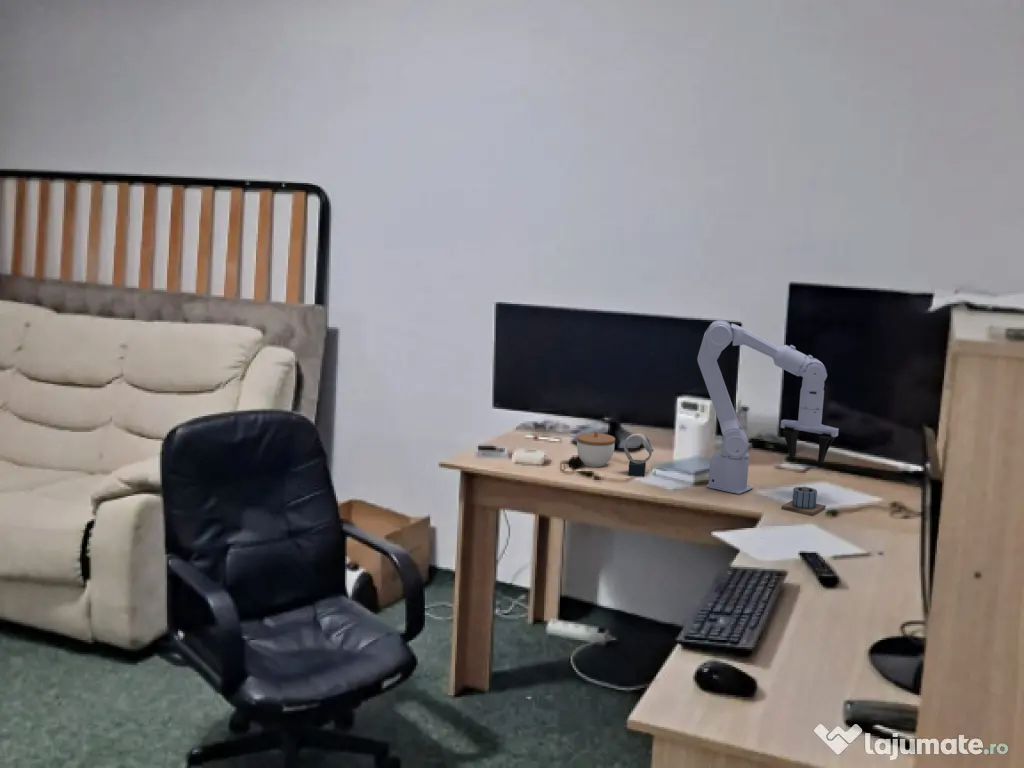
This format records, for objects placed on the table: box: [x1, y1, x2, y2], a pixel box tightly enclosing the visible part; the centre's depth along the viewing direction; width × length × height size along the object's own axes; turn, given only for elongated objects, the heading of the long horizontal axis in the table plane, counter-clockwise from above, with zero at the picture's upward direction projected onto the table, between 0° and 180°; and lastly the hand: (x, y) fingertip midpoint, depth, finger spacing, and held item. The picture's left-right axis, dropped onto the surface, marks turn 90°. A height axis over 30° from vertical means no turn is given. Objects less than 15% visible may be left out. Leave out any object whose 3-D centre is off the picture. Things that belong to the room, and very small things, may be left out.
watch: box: [623, 432, 654, 478], centre depth 278 cm, size 6×8×11 cm
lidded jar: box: [576, 430, 616, 468], centre depth 287 cm, size 11×11×9 cm
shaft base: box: [780, 488, 827, 517], centre depth 251 cm, size 8×8×5 cm
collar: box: [791, 486, 818, 509], centre depth 251 cm, size 6×6×4 cm
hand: (806, 459), depth 262 cm, fingers open, 7 cm apart
